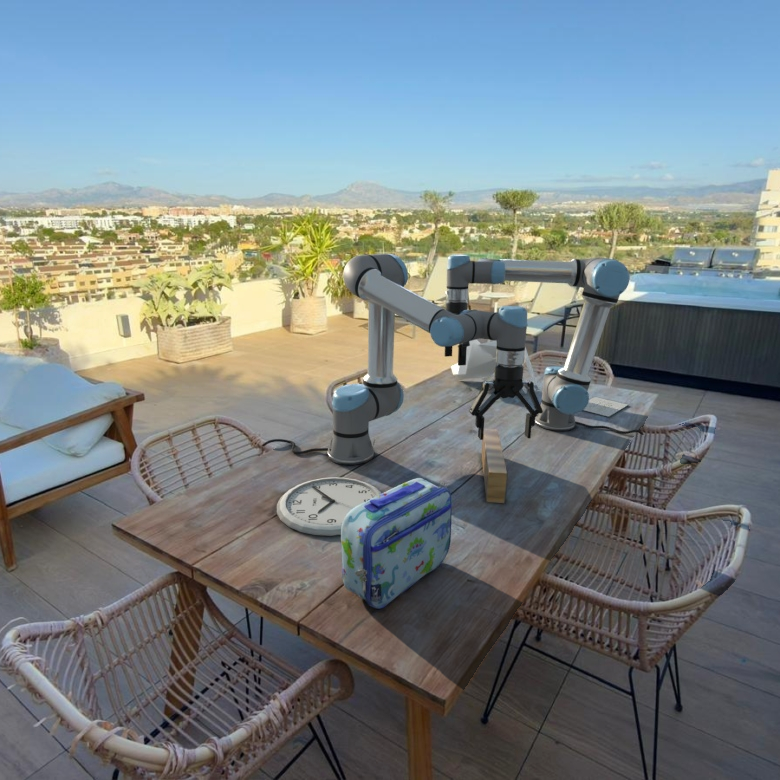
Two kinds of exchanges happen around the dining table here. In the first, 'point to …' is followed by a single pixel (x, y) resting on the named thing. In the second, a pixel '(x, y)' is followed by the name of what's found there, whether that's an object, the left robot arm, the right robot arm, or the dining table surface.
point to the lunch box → (395, 540)
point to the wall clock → (323, 504)
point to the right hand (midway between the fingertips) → (454, 360)
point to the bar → (493, 466)
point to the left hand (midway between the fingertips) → (504, 437)
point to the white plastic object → (484, 363)
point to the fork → (441, 485)
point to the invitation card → (603, 406)
